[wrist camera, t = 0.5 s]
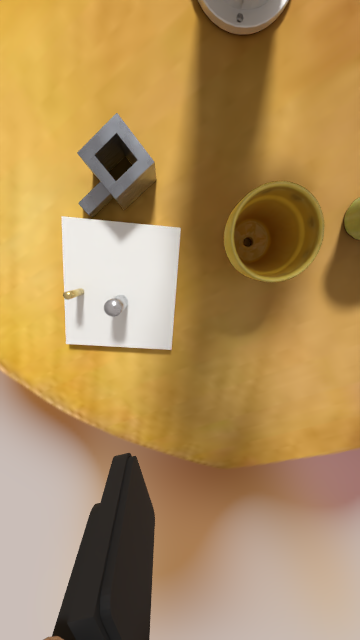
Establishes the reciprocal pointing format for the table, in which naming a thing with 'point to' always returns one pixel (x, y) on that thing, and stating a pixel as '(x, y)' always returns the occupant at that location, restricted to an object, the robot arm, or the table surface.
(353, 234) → the plant pot
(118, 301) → the steel post
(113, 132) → the grey socket block
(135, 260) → the board
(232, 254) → the plant pot
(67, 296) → the brass dowel
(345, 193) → the table surface
